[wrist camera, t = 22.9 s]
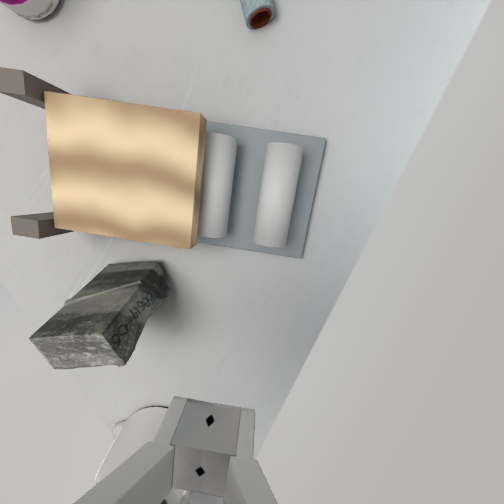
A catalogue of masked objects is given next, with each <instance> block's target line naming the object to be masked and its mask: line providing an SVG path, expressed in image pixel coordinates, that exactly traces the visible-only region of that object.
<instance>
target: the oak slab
mask: <svg viewBox="0 0 504 504" xmlns="http://www.w3.org/2000/svg"><path fill="white" fill-rule="evenodd" d="M44 99H45V112H46V125H47V138H48V150H49V163H50V176H51V188H52V201H53V214H54V227H55V228H59V229H66V230H72V231H78V232H85V233H91V234H97V235H104V236H110V237H116V238H123V239H129V240H136V241H142V242H148V243H155V244H161V245H167V246H174V247H180V248H186V249H191V248H192V247H193V246H195V245H196V243H197V231H198V219H199V208H200V196H201V184H202V172H203V160H204V148H205V137H206V125H207V120H206V119H205V118H204V117H203V116H202V114H201V113H195V112H188V111H181V110H174V109H167V108H160V107H153V106H146V105H139V104H132V103H125V102H118V101H112V100H105V99H98V98H91V97H84V96H77V95H70V94H63V93H56V92H49V91H44Z"/></svg>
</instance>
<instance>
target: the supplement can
mask: <svg viewBox="0 0 504 504" xmlns="http://www.w3.org/2000/svg"><path fill="white" fill-rule="evenodd" d="M0 3H2V4H3V5H5V6H6V7H8V8H9V9H10V10H12V11H13V12H15V13H16V14H17V15H19V16H21V17H24V18H27V19H30V20H35V19H42V18H44V17H46V16H48V15H49V14H51V13H53V11H54V10H55V9H56V7H57V6H58V4H59V0H0Z"/></svg>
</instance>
